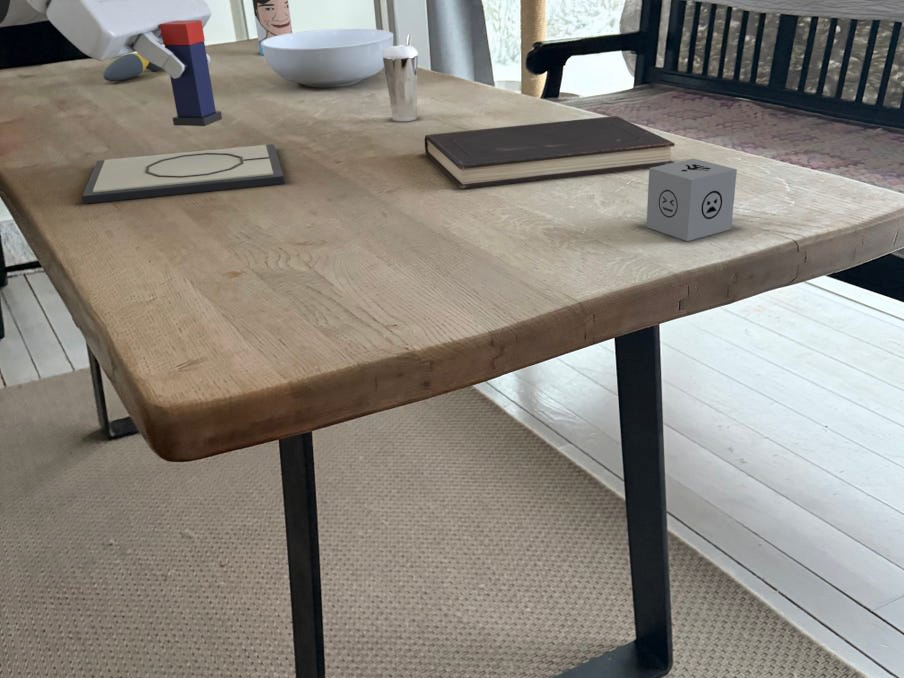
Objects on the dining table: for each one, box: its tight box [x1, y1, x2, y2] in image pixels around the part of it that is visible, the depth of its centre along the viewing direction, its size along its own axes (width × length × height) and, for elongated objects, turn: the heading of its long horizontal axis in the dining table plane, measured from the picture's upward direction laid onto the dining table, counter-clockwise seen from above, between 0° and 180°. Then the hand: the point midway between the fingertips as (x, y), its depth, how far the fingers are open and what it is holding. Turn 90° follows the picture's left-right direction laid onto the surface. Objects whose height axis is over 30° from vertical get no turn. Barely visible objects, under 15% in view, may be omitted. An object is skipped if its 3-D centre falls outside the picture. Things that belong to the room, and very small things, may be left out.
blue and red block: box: [160, 20, 223, 127], centre depth 101 cm, size 4×4×10 cm
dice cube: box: [645, 158, 738, 242], centre depth 80 cm, size 5×5×5 cm
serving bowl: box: [261, 28, 394, 88], centre depth 152 cm, size 21×21×7 cm
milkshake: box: [382, 33, 419, 122], centre depth 124 cm, size 5×5×10 cm
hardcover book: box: [424, 115, 676, 190], centre depth 103 cm, size 16×23×2 cm
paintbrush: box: [102, 52, 163, 82], centre depth 168 cm, size 20×5×5 cm, turn 169°
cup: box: [252, 0, 293, 56], centre depth 184 cm, size 7×7×15 cm
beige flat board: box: [81, 143, 285, 205], centre depth 104 cm, size 20×16×1 cm
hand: (193, 69), depth 101 cm, fingers closed on blue and red block, 3 cm apart
